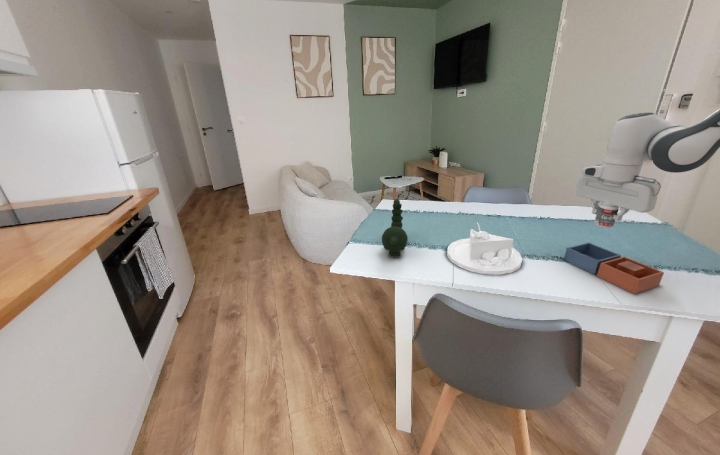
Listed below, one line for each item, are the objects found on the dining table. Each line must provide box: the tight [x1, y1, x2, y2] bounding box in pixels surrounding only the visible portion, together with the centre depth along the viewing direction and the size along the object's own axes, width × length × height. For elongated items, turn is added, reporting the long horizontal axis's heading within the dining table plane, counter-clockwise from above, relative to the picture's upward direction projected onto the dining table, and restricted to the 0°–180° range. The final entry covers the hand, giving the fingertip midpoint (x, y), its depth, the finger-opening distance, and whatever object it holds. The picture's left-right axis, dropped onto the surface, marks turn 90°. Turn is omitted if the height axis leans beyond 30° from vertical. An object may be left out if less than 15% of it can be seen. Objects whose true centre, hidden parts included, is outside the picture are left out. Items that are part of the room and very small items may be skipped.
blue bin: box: [563, 241, 622, 275], centre depth 96 cm, size 10×10×5 cm
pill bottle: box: [593, 200, 620, 229], centre depth 89 cm, size 5×5×8 cm
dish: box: [446, 222, 523, 276], centre depth 102 cm, size 25×25×11 cm
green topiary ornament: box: [381, 198, 409, 258], centre depth 110 cm, size 9×19×25 cm
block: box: [616, 261, 645, 279], centre depth 86 cm, size 4×4×4 cm
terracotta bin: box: [596, 256, 665, 295], centre depth 86 cm, size 10×10×5 cm
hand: (605, 216), depth 90 cm, fingers closed on pill bottle, 5 cm apart
